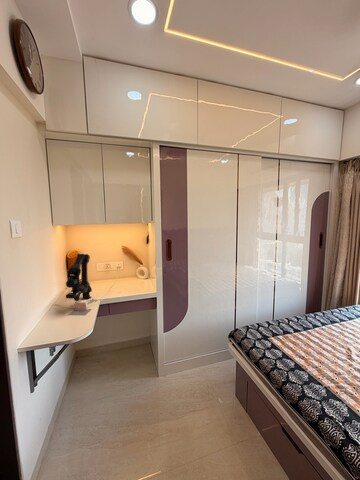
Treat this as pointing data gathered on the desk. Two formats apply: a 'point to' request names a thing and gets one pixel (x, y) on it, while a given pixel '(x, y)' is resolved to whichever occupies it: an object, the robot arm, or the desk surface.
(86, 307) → the glazed tile
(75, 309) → the caliper
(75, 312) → the rubber mat
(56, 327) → the desk surface
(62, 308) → the desk surface
